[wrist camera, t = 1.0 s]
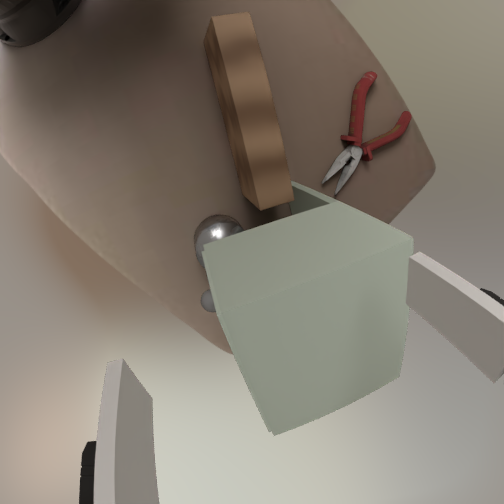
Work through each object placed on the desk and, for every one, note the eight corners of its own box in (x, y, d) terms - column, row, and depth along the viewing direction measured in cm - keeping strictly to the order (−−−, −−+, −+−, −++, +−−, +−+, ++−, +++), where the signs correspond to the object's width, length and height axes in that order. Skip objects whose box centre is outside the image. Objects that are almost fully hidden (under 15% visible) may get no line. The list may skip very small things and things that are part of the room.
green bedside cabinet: (183, 214, 38) (196, 321, 16) (291, 180, 39) (413, 237, 18) (218, 309, 44) (259, 440, 23) (309, 276, 46) (399, 376, 25)
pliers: (296, 165, 39) (304, 167, 37) (364, 69, 36) (373, 67, 33) (348, 207, 44) (357, 212, 42) (406, 116, 40) (416, 117, 38)
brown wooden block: (203, 42, 29) (211, 16, 21) (233, 37, 30) (249, 11, 22) (242, 194, 39) (260, 210, 31) (269, 186, 39) (294, 200, 31)
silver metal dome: (187, 224, 38) (188, 233, 35) (236, 207, 39) (242, 215, 36) (203, 268, 41) (205, 281, 38) (248, 252, 42) (255, 263, 39)
